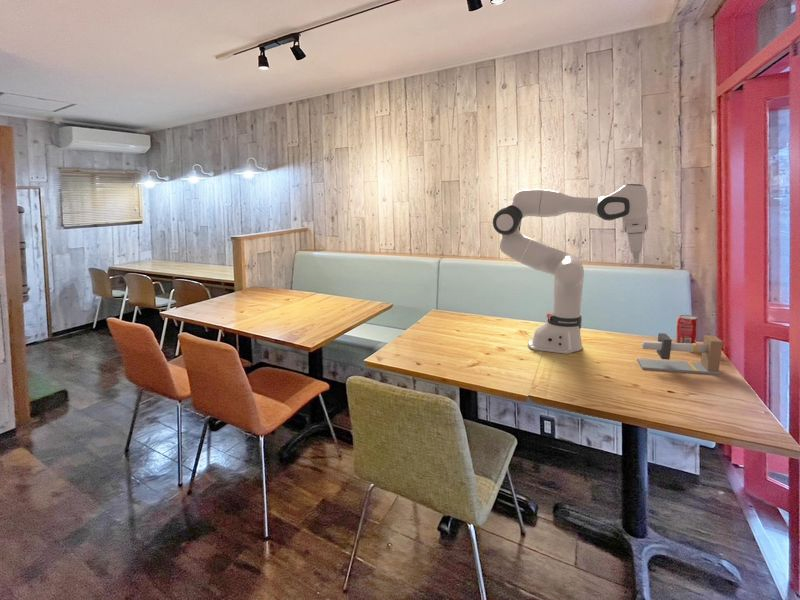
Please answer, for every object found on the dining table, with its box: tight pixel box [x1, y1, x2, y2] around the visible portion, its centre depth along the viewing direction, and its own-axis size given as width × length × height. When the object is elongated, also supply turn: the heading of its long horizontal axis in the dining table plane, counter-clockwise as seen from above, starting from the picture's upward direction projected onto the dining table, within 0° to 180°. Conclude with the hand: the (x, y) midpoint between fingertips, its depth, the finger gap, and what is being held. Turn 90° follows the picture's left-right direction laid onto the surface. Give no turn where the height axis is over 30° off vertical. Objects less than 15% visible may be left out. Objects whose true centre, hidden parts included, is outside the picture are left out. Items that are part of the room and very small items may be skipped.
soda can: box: [674, 314, 699, 344], centre depth 185 cm, size 7×7×13 cm
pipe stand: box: [636, 334, 724, 376], centre depth 165 cm, size 25×9×12 cm, turn 73°
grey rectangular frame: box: [656, 332, 673, 361], centre depth 166 cm, size 2×8×8 cm, turn 163°
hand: (636, 261), depth 175 cm, fingers open, 8 cm apart
